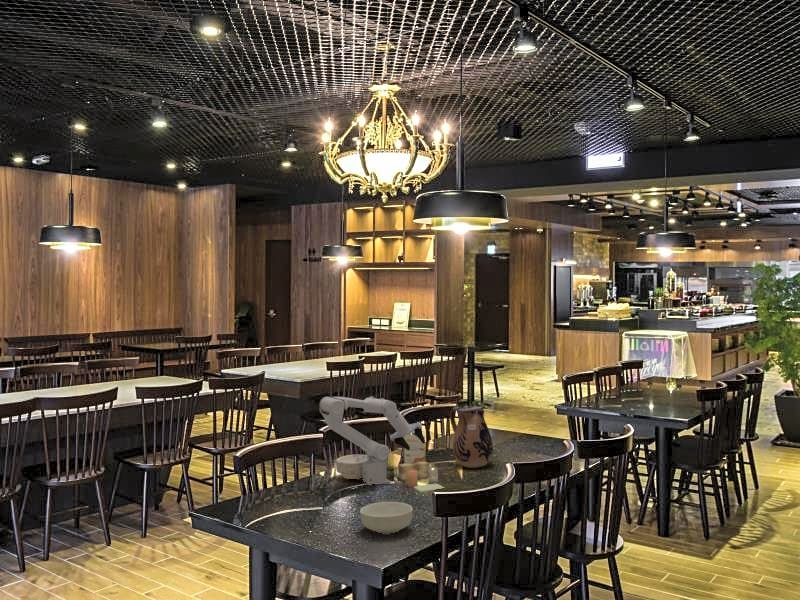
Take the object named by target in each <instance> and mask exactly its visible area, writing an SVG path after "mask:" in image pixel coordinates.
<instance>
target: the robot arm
mask: <svg viewBox="0 0 800 600" xmlns="http://www.w3.org/2000/svg"><path fill="white" fill-rule="evenodd" d="M348 408H358V409H363V411H364V412H366V413H374V414H383V416H384V417H385V418H386V419H387V421H388V423H389V424H390V425H391V426H392V427H393V428H394V430H395V432H394V433H392V434H390V437H389V439H390V441H392V442H394V443H395V445H397V446H400V447H402V448H403V449H404V448H405V449H407V450H410V446H409V445H408V443H407V442H406V441H405V439H404V436H406V435H408V434H411V433H410V432H412V431H415V433H413V435H415V436H417V437H418V438H419V439H420V440H421V442H422V443H423V444H424V443H425V444H426V438H425V439H424V437H423V436H424V433H423V431H422V426H423V425H422V423H421V422H420V421H418V422H415V423H411V424H410V423H408V422H407V420H406V418H405V417H404V416H403V415H402V414H401V412H400V411H399V410H398V408H397V404H396V402H394V401H392V400H388V399H385V398H384V397H383V398H382V397H380V398H375V396H369V397H366V398H365V399H357V398H351V397H345V396H324V397H322V399H320V402H319V413H320V414H321V415H322V417H323V418H324V420H325V422H326V425H327V426H328V428H329V429H330V430H332V431H333V432H335V433H337V434H338V435H340V436H341V437H342V438H344V439H346V440H347V441H350V442H351V443H353V444H354V445H356V446H357V447H359V448H361V450H362V451H364V453H365V455H367V456H368V461H364V462H363V465H362V473H363V479H362V480H363V481H364V482H363V481H362V482H363V483H365V482H366V483H367V484H368V486H371V485H370V484H375V485H381V484H380V483H382V484H389V483H388V482H390V483H391V481H390V479H388V476H387V471H388V469H387V459H388V458H389V456H390V448H389V446H388V445H386V444H381V443H378V442H376V441H374V440H372V439H371V438H369V437H368V436H366V435H364V434H363V433H361V432H359V431H358V430H357V429H355V428H353V427H351V426H350V425H348V424H347V423H346V422H343V418H344V417H343V415H344V411H347V410H348ZM366 483H365V484H366ZM367 484H366V485H367Z"/></svg>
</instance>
